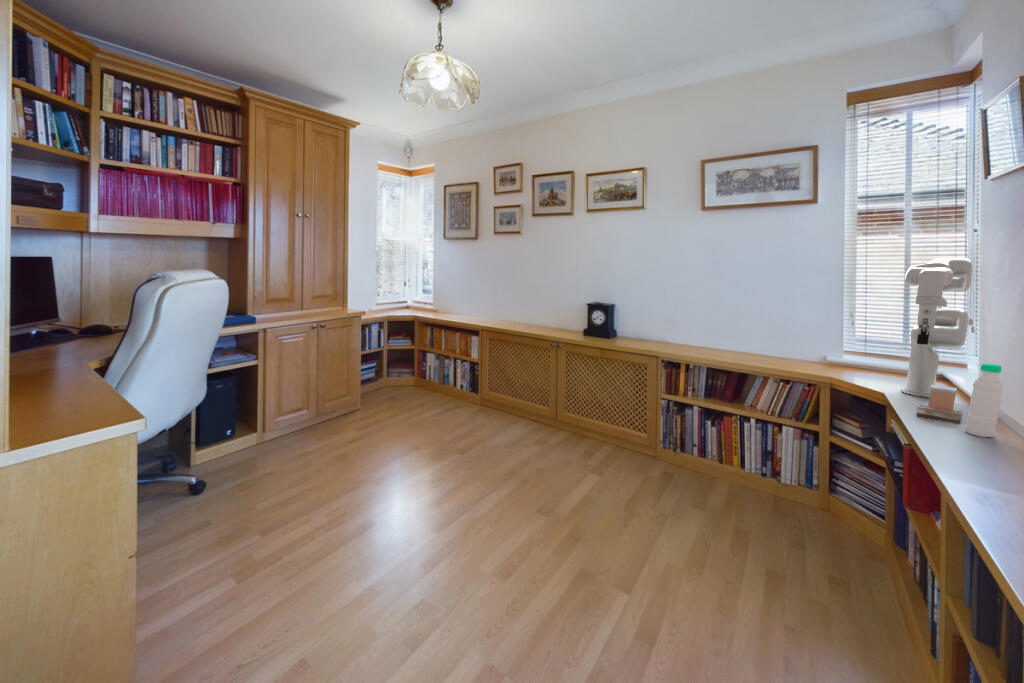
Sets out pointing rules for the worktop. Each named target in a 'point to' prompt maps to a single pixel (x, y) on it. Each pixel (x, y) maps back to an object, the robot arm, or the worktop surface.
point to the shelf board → (939, 414)
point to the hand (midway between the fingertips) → (922, 341)
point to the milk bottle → (985, 402)
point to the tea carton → (942, 398)
